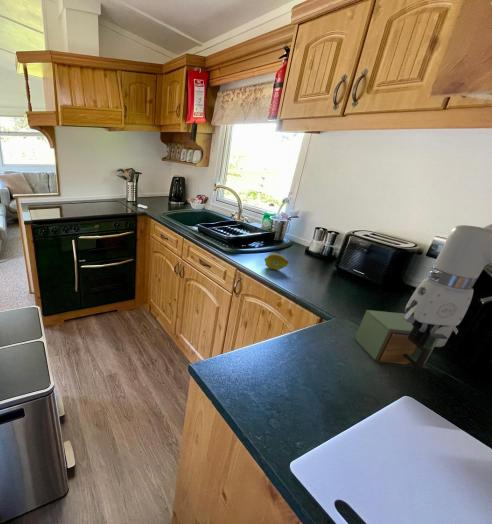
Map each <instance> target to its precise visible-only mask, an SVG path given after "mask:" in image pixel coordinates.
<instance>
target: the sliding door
mask: <svg viewBox="0 0 492 524" xmlns="http://www.w3.org/2000/svg"><path fill="white" fill-rule="evenodd" d="M408 336H409V335H402V334H394V333H393V335H392V337H391V339H390V341H389V343H388V345H387V347H386V349H385V351H384V353H383V355H382V357H381V359H380V361H381V362H388V363H397V364H406V365H407V363H408V361H410V362H411V363H412V364H413V365H414V367H413V368H412V369H413V370H415V371H416V372H420V371H421V370H422V369H421V368H422V366H423V364H424V362H425V361H426V359H427V357H428V355H429V353H430V352H431V348H429V347H423V346H420V345H419V346H418V345H415V344H414V343H413V342H411V341H410V340H409V339H408ZM416 346H417V347H419V348H420V349H421V350H422V352H421V354H420V356H419V358H418V359H417V361H416V362H415V361H414V360H413V359H412V358H410V357H411V356H412V354H413V352H414V350H415V348H416ZM431 353H432V352H431ZM427 360H428V359H427ZM426 362H427V361H426Z"/></svg>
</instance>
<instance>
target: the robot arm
mask: <svg viewBox="0 0 492 524" xmlns="http://www.w3.org/2000/svg"><path fill="white" fill-rule="evenodd" d="M488 264H489V265H492V223H491V224H489V225H486V226H484V227H481V226H475V225H466V224H459V225H456V226H454V227H453V228H452V229H451V230H450V232H449V234H448V236H447V237H446V240H445V241H444V244H443V246H442V248H441V250H440V251H439V253H438V255H437V257H436V258H435V261H434V263H433V265H432V267H431V269H430V271H427V272H426V274H425V276H426V278H423V280H422V281H421V282H420V283H419V285H417V287H416V288H415V290H414V292H413V293H412V295H411V296H410V298H409V300H408V302H407V303H406V305H405V308H404V312H405V314H406V315H405V316H404V317H403V319H404V320H406V321H407V322H409V323H412V326H414V327H413V329H412V331H411V332H410V334H409V336H408V339H409V340H410V341H411V342H413V343H414V344H415V345H418V346H419V345H420V346H424V345H425V343H426V342H427V340H428V338H429V336H430V335H431V333H435V332H436V330H437V329H439V328H441V327H449V326H455V327H456V326H459V325H460V324H461V323H462V321H463V320H464V318H465V315H466V314H467V311H468V309H469V307H470V305H471V302H472V299H473V296H474V288H473V287H474V285H475V284H476V282H477V280H478V278H479V277H480V275H481V274H482V272H483V270H484V268H485V266H486V265H488Z"/></svg>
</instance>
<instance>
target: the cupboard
mask: <svg viewBox="0 0 492 524" xmlns="http://www.w3.org/2000/svg"><path fill="white" fill-rule="evenodd" d="M405 315H406V313H400V312H391V311H383V310H382V311H381V310H371V309H366V311H365V313H364V315H363V318H362V320H361V322H360V324H359V327H358V328H357V332H356V334H355V337H354V340H355V341H356V343H358V344H359V346H361V348H363V350H365V352H366V353H367V354H368V355H369V356H370V357H371V358H372V359H373V360H374V361H375V363H377V364H378V365H383V366H384V365H386V366H393V367H401V368H402V367H404V368H412V369H413V367H414V365H413V364H412V363H411V362H410V361H408V363H407V365H406V364H397V363H388V362H381V361H380V359H381V357H382V355H383V353H384V351H385V349H386V347H387V345H388V343H389V341H390V339H391V337H392V335H393V333H394V334H402V335H409V334H410V332H411V331H412V329H413V327H414V326H412V323H409V322H407V321H406V320H404V319H403V317H404V316H405ZM439 338H441V339H447V337H446V336H444V335H443V334H441V333H439V332H438V331H436V332H435V333H431V335H430V336H429V338H428V340H427V342H426V343H425V345H424V346H423V347H429V348H431V352H430V353H429V355H428V357H427V359H426V361H425V362H424V364H423V366H422V368H421V369H420V370H430V369H431V368H430V367H429V366H428V365H427V364H426V363H427V361H428V359H429V358H430V356H431V354H432V352H433V350H434V349H435V345H436V343H437V342H438V340H439ZM421 352H422V350H421V349H420V348H419V347H417V346H416V348H415V350H414V352H413V354H412V356H411V357H410V358H412V359H413V360H414V361H415V362H416V361H417V359H418V358H419V356H420V354H421Z"/></svg>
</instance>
